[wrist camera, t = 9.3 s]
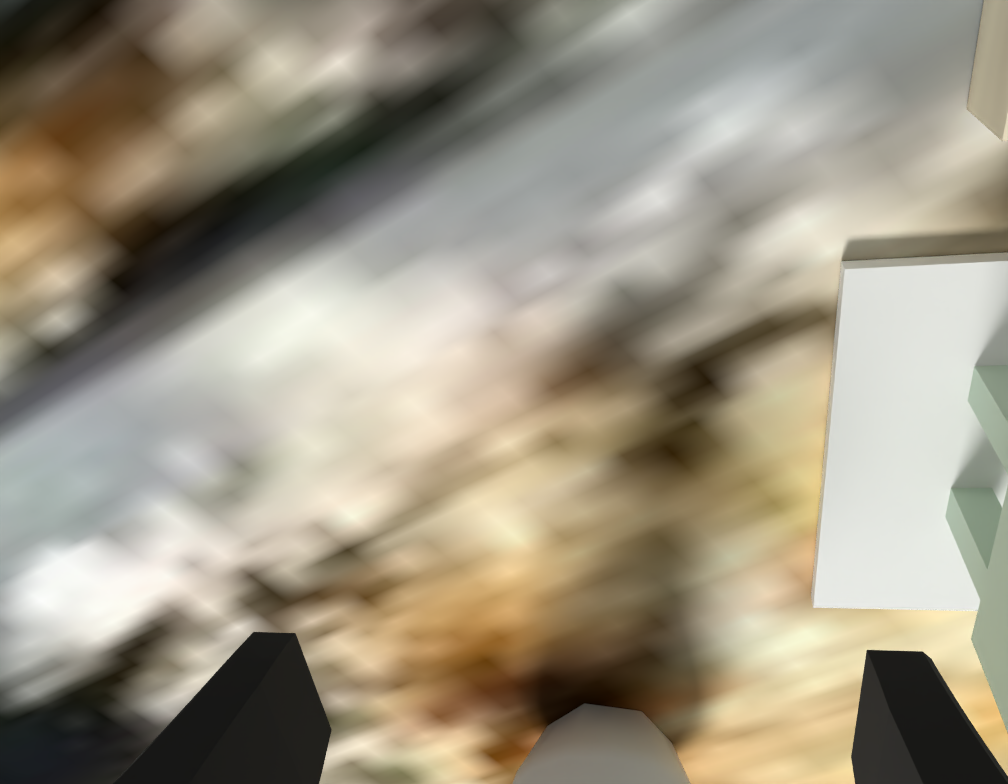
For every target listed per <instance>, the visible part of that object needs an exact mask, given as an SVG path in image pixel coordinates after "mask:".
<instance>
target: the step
mask: <svg viewBox="0 0 1008 784" xmlns="http://www.w3.org/2000/svg"><path fill="white" fill-rule="evenodd" d="M967 110H968V111H969V112H970V113H971V114H973V115H974V116H975V117H976V118H977V119H978V120H979V121H980V122H981V123H983V124H984V125H985V126H986V127H987V128H988V129H989V130H990V131H991V132H993V133H994V134H995V135H996V136H997V137H998V138H999V139H1000V140H1001V141H1008V0H984V3H983V9H982V15H981V22H980V28H979V34H978V40H977V47H976V53H975V59H974V66H973V72H972V78H971V85H970V91H969V97H968V103H967Z"/></svg>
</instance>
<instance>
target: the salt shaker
mask: <svg viewBox="0 0 1008 784" xmlns="http://www.w3.org/2000/svg"><path fill="white" fill-rule="evenodd" d="M513 784H691V783H690V781H689V779H688V777H687V775H686V772H685V770H684V768H683V766H682V764H681V762H680V759H679V757H678V755H677V753H676V751H675V748H674V746H673V744H672V742H671V741H670V740H669V739H668V738H667V737H666V736H665V735H664V734H663V733H662V732H661V731H660V730H659V729H658V728H657V727H656V726H655V725H654V724H653V723H652V721H651V720H650V719H649V718H648V717H647V716H646V715H645V714H644V713H643V712H642V711H637V710H630V709H622V708H615V707H607V706H600V705H593V704H585V703H584V704H583V705H581V706H579V707H578V708H576V709H575V710H573V711H571V712H570V713H568V714H566V715H565V716H563V717H561V718H560V719H558V720H556V721H555V722H553V723H551V724H550V725H548V726H547V727H546V729H545V730H544V732H543V733H542V735H541V736H540V738H539V739H538V741H537V742H536V744H535V745H534V747H533V748H532V750H531V751H530V753H529V755H528V756H527V758H526V759H525V761H524V762H523V764H522V765H521V767H520V768H519V770H518V771H517V773H516V776H515V779H514V781H513Z"/></svg>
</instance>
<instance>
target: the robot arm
mask: <svg viewBox="0 0 1008 784" xmlns="http://www.w3.org/2000/svg"><path fill="white" fill-rule="evenodd" d="M330 734H331V727H330V725H329V722H328V719H327V717H326V714H325V711H324V709H323V706H322V703H321V701H320V698H319V695H318V693H317V690H316V687H315V685H314V682H313V679H312V676H311V674H310V671H309V668H308V666H307V663H306V660H305V658H304V655H303V652H302V650H301V647H300V644H299V642H298V639H297V636H296V634H295V633H267V632H253V633H252V634H251V635H250V636H249V637H248V638H247V640H246V641H245V642H244V643H243V644H242V645H241V646H240V647H239V648H238V649H237V650H236V651H235V652H234V653H233V655H232V656H231V657H230V658H229V659H228V660H227V661H226V662H225V663H224V664H223V665H222V667H221V668H220V669H219V670H218V671H217V672H216V673H215V674H214V675H213V676H212V678H211V679H210V680H209V681H208V682H207V683H206V684H205V685H204V686H203V688H202V689H201V690H200V691H199V692H198V693H197V694H196V695H195V696H194V697H193V699H192V700H191V701H190V702H189V703H188V704H187V705H186V706H185V707H184V708H183V710H182V711H181V712H180V713H179V714H178V715H177V716H176V717H175V718H174V719H173V720H172V722H171V723H170V724H169V725H168V726H167V727H166V728H165V729H164V730H163V731H162V732H161V733H160V734H159V735H158V737H157V738H156V739H155V740H154V741H153V742H152V743H151V744H150V745H149V746H148V747H147V748H146V749H145V750H144V751H143V752H142V754H141V755H140V756H139V757H138V758H137V759H136V760H135V761H134V762H133V763H132V764H131V765H130V766H129V767H128V768H127V769H126V771H125V772H124V773H123V774H122V775H121V776H120V777H119V778H118V779H117V780H116V781H115V782H114V783H113V784H319V781H320V777H321V773H322V769H323V765H324V760H325V756H326V751H327V747H328V743H329V738H330ZM851 758H852V765H853V771H854V778H855V784H1008V776H1007V775H1006V773H1005V772H1004V770H1003V769H1002V768H1001V766H1000V765H999V763H998V762H997V760H996V759H995V757H994V756H993V754H992V753H991V751H990V750H989V749H988V747H987V746H986V744H985V743H984V741H983V740H982V738H981V737H980V735H979V734H978V732H977V731H976V729H975V728H974V726H973V725H972V723H971V722H970V720H969V719H968V717H967V716H966V714H965V713H964V711H963V709H962V708H961V706H960V705H959V703H958V702H957V700H956V699H955V697H954V695H953V694H952V692H951V691H950V689H949V687H948V686H947V684H946V682H945V681H944V679H943V678H942V676H941V674H940V673H939V671H938V669H937V668H936V666H935V664H934V663H933V661H932V659H931V658H930V657H928V656H927V655H926V654H925V653H924V652H916V651H882V650H867V653H866V660H865V667H864V673H863V680H862V687H861V694H860V701H859V708H858V715H857V721H856V728H855V735H854V742H853V749H852V756H851Z"/></svg>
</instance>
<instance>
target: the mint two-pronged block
mask: <svg viewBox="0 0 1008 784" xmlns="http://www.w3.org/2000/svg"><path fill="white" fill-rule="evenodd" d="M968 402H969V404H970V406H971V408H972V410H973V411H974V413H975V415H976V417H977V419H978V421H979V422H980V424H981V426H982V428H983V430H984V432H985V433H986V435H987V437H988V439H989V441H990V443H991V444H992V446H993V448H994V450H995V452H996V454H997V455H998V457H999V459H1000V461H1001V463H1002V465H1003V466H1004V468H1005V470H1006V472H1007V474H1008V365H997V366H974V370H973V375H972V381H971V386H970V391H969V396H968ZM945 517H946V520H947V522H948V525H949V527H950V529H951V532H952V534H953V536H954V539H955V541H956V544H957V546H958V548H959V551H960V553H961V555H962V558H963V560H964V563H965V565H966V567H967V570H968V572H969V574H970V577H971V579H972V582H973V584H974V586H975V589H976V591H977V593H978V596H979V598H980V604H979V608H978V612H977V617H976V621H975V625H974V629H973V633H972V638H971V640H972V642H973V645H974V647H975V650H976V652H977V655H978V658H979V660H980V663H981V665H982V668H983V670H984V673H985V676H986V678H987V681H988V683H989V686H990V688H991V691H992V694H993V696H994V699H995V701H996V704H997V706H998V709H999V711H1000V714H1001V717H1002V719H1003V722H1004V724H1005V727H1006V729H1007V732H1008V486H1007V490H1006V495H1005V499H1004V503H1003V507H1002V506H1001V504H1000V503H999V501H998V499H997V497H996V495H995V493H994V491H993V489H992V488H951V490H950V495H949V500H948V505H947V510H946V516H945Z"/></svg>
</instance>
